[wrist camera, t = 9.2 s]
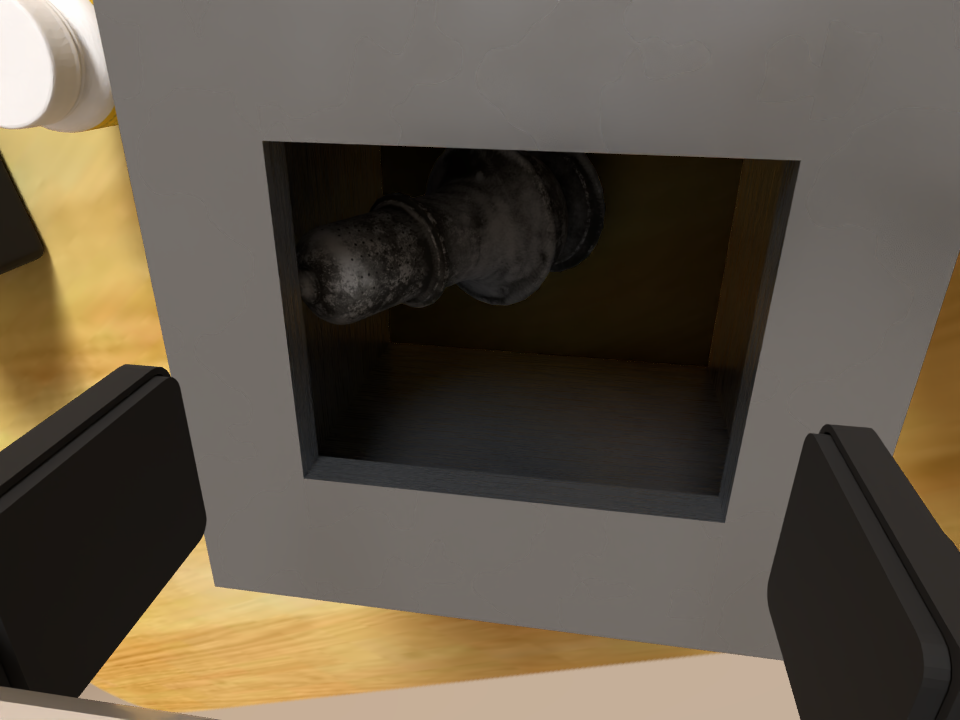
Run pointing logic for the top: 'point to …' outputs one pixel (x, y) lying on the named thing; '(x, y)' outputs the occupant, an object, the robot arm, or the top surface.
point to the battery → (15, 228)
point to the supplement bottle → (53, 67)
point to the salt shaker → (457, 235)
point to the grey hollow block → (529, 376)
